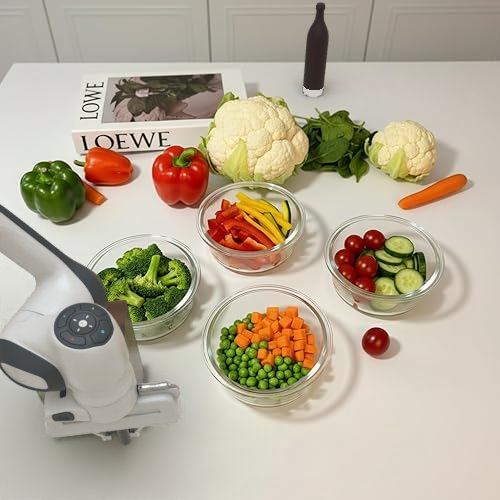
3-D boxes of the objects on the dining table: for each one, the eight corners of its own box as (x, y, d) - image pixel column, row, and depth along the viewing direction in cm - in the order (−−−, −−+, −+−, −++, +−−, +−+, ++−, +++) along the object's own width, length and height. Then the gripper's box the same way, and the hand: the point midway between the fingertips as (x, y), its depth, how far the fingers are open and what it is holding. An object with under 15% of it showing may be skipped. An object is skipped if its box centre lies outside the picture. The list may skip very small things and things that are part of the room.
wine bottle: (325, 90, 188) (335, 1, 167) (319, 100, 183) (328, 9, 162) (306, 86, 190) (313, -2, 169) (299, 96, 185) (306, 6, 164)
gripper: (177, 363, 82) (185, 409, 92) (38, 379, 80) (61, 424, 90) (179, 401, 77) (186, 445, 87) (31, 418, 75) (56, 461, 85)
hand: (122, 434), depth 88 cm, fingers open, 3 cm apart
